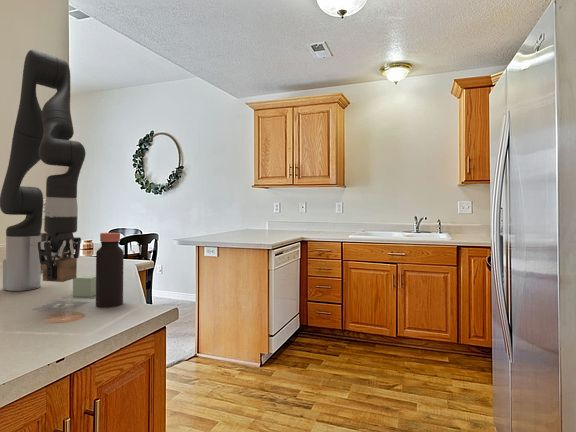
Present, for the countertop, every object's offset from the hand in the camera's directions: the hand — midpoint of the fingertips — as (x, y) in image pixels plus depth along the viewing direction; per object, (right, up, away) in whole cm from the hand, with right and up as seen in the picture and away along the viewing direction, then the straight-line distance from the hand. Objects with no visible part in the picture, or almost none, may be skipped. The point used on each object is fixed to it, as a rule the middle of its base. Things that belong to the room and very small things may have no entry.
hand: (60, 277), depth 99 cm
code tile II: (0, -8, +13) cm, 15 cm away
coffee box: (-35, -7, +52) cm, 64 cm away
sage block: (0, -7, +13) cm, 15 cm away
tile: (0, -8, 0) cm, 8 cm away
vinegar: (+12, -8, +2) cm, 15 cm away
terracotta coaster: (+8, -8, -10) cm, 15 cm away
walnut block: (0, 0, 0) cm, 1 cm away
